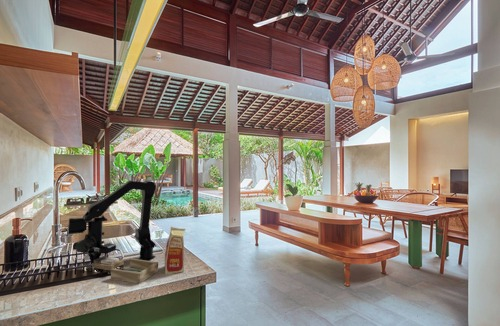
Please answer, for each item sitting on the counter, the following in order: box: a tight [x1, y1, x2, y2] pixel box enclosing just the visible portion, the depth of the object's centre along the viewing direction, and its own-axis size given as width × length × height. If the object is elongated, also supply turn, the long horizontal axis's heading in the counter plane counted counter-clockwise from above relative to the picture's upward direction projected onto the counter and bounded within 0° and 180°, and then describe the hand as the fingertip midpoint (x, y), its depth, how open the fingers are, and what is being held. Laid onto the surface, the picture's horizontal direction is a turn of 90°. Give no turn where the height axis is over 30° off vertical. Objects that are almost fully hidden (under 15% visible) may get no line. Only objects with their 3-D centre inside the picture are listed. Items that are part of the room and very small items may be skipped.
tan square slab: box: [91, 255, 125, 274], centre depth 118 cm, size 8×10×5 cm
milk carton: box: [164, 226, 186, 275], centre depth 123 cm, size 9×9×20 cm
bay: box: [110, 258, 159, 284], centre depth 115 cm, size 13×14×4 cm
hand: (94, 265), depth 120 cm, fingers closed
